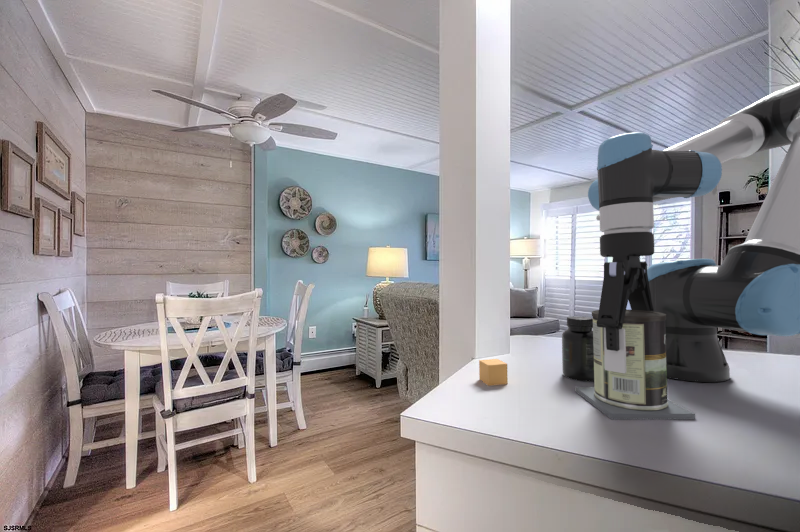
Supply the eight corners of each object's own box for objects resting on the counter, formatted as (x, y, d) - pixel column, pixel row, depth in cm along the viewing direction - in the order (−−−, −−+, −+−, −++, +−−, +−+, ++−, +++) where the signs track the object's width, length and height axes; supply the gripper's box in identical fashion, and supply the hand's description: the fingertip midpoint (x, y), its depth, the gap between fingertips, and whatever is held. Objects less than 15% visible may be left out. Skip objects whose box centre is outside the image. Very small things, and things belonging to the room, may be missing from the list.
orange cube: (497, 378, 74) (497, 358, 74) (507, 384, 71) (507, 363, 71) (479, 380, 74) (479, 360, 74) (488, 386, 70) (488, 365, 70)
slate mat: (643, 391, 65) (643, 386, 65) (695, 419, 53) (695, 413, 53) (575, 391, 66) (575, 387, 66) (611, 419, 54) (611, 413, 54)
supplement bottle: (597, 373, 76) (596, 316, 76) (602, 383, 70) (600, 320, 70) (562, 370, 79) (561, 315, 79) (563, 379, 73) (562, 319, 73)
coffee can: (649, 389, 63) (647, 308, 63) (682, 413, 53) (680, 317, 53) (585, 387, 65) (583, 308, 65) (605, 409, 55) (603, 316, 55)
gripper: (624, 237, 71) (627, 346, 71) (570, 230, 54) (574, 374, 54) (671, 233, 65) (674, 352, 65) (628, 225, 48) (632, 385, 48)
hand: (629, 362), depth 59 cm, fingers open, 13 cm apart
